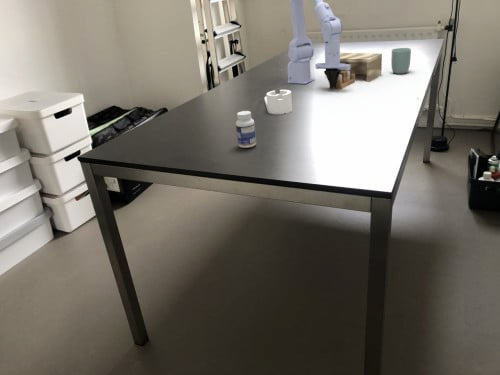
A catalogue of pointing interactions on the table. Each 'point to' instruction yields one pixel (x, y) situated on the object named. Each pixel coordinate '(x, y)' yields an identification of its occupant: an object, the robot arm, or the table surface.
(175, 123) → the table surface
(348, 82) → the caddy
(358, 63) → the wooden crate
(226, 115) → the table surface
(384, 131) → the table surface
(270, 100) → the bracket
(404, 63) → the cup
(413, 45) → the table surface
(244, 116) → the pill bottle
